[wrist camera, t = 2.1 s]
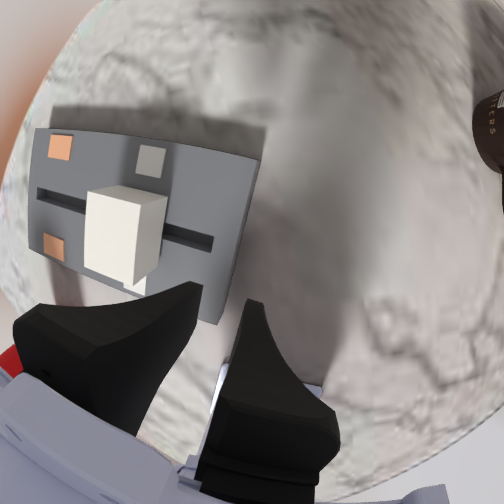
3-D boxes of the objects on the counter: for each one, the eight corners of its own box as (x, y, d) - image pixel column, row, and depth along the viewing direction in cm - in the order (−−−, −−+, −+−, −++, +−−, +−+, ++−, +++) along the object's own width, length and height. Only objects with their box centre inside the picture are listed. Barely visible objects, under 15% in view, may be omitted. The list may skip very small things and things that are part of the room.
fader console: (261, 160, 18) (257, 160, 16) (223, 312, 22) (216, 326, 20) (49, 128, 19) (34, 128, 17) (41, 242, 23) (27, 248, 21)
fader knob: (176, 194, 19) (141, 205, 14) (165, 259, 20) (132, 286, 16) (129, 183, 19) (87, 191, 14) (122, 245, 21) (84, 266, 16)
